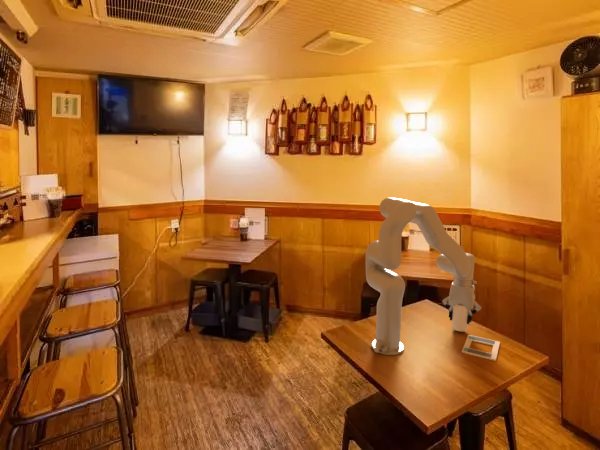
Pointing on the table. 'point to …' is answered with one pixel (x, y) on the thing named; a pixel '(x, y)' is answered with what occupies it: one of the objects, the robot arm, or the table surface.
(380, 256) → the robot arm
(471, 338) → the label board
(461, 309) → the can
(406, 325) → the table surface
